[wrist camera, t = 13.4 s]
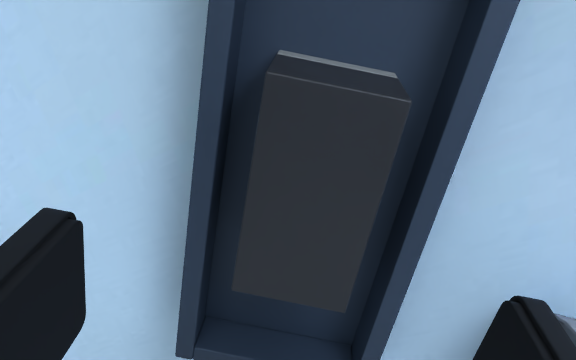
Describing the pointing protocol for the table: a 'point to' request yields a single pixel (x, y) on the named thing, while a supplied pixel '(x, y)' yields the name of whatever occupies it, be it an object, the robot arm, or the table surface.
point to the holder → (401, 181)
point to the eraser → (316, 178)
